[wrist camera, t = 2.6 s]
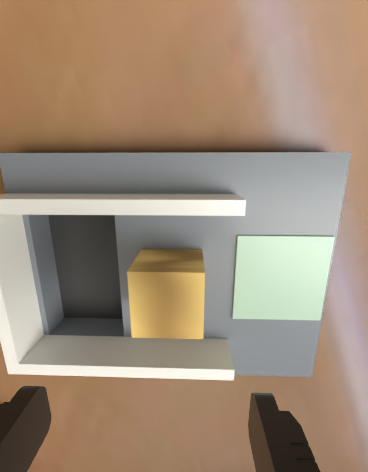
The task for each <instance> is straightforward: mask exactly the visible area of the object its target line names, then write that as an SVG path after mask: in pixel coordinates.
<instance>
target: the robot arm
mask: <svg viewBox="0 0 368 472" xmlns="http://www.w3.org/2000/svg"><path fill="white" fill-rule="evenodd" d="M50 423H51V412H50V407H49V402H48V397H47V392H46V388H45V387H42V386H23V387H22V388H20V389H19V390H18V392H17V393H16V394H15V396H14V397H13V398H12V399H11V401H10V402H4V403H3V404H1V405H0V472H27V470H28V469H29V467H30V465H31V463H32V461H33V459H34V457H35V456H36V454H37V452H38V450H39V448H40V446H41V444H42V443H43V441H44V439H45V437H46V435H47V433H48V430H49V427H50ZM248 427H249V438H250V444H251V449H252V453H253V458H254V463H255V468H256V472H320V470H319V468H318V465H317V463H316V462H315V458H314V456H313V453H312V451H311V449H310V447H309V445H308V441H307V439H306V437H305V434H304V432H303V430H302V427H301V425H300V424H299V423H298V422H297V420H296V419H295V418H294V417H293V415H292V414H291V413H290V412H289V411H279V409H278V407H277V404H276V401H275V398H274V396H273V394H271V393H252V394H251V401H250V411H249V422H248Z"/></svg>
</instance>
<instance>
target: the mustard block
mask: <svg viewBox="0 0 368 472" xmlns="http://www.w3.org/2000/svg"><path fill="white" fill-rule="evenodd" d="M127 277H128V291H129V306H130V320H131V334H132V338H167V339H203V334H204V293H205V268H204V260H203V251H202V250H179V249H141V250H140V252H139V254H138V255H137V257H136V258H135V260H134V262H133V263H132V265H131V266H130V268H129V270H128V271H127Z"/></svg>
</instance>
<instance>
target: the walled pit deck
mask: <svg viewBox="0 0 368 472" xmlns="http://www.w3.org/2000/svg"><path fill="white" fill-rule="evenodd" d="M350 157H351V152H197V153H0V167H1V172H2V177H3V183H4V188H5V194H0V342H1V346H2V350H3V354H4V358H5V362H6V366H7V370H8V374H29V375H64V376H99V377H134V378H169V379H205V380H234V375H255V376H291V377H312V374H313V368H314V362H315V357H316V351H317V345H318V339H319V334H320V328H321V322H322V317H323V311H324V305H325V300H326V294H327V288H328V283H329V277H330V271H331V265H332V260H333V254H334V248H335V243H336V237H337V231H338V226H339V220H340V214H341V209H342V203H343V197H344V191H345V186H346V180H347V174H348V169H349V163H350ZM141 249H179V250H202V251H203V260H204V268H205V293H204V334H203V339H167V338H132V334H131V320H130V306H129V291H128V277H127V271H128V270H129V268H130V266H131V265H132V263H133V262H134V260H135V258H136V257H137V255H138V254H139V252H140V250H141Z"/></svg>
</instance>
